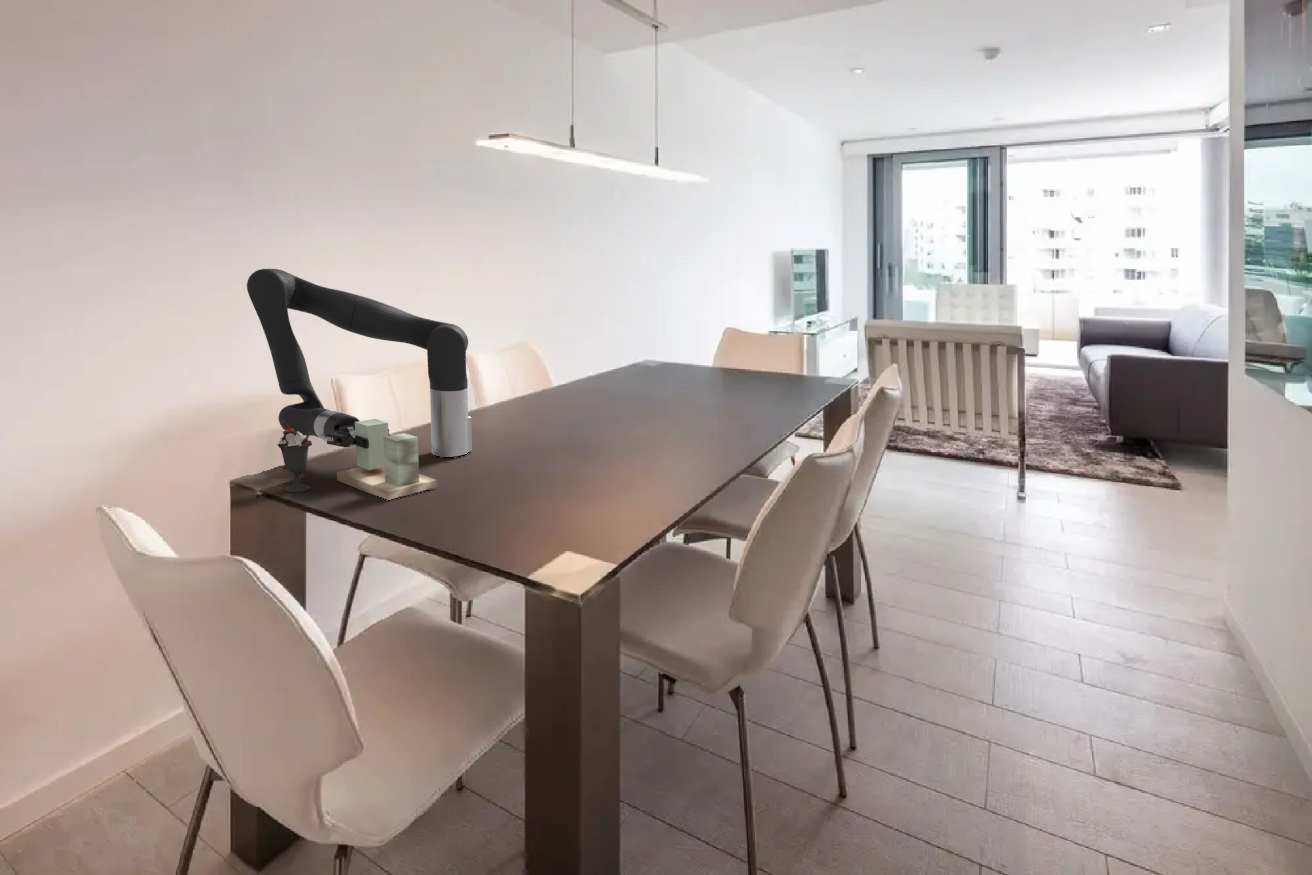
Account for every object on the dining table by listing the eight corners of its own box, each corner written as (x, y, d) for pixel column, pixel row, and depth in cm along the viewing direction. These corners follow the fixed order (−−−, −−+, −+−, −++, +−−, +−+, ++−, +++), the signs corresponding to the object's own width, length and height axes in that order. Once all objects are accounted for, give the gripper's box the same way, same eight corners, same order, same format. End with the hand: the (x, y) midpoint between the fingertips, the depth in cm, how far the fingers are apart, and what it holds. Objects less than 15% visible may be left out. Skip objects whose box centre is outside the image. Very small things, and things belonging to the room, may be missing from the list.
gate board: (385, 470, 173) (383, 420, 170) (437, 488, 161) (435, 435, 159) (337, 480, 164) (334, 428, 161) (388, 500, 152) (386, 444, 149)
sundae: (274, 488, 156) (268, 420, 153) (305, 482, 161) (300, 416, 158) (289, 495, 152) (283, 425, 149) (320, 489, 157) (316, 421, 154)
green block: (377, 461, 168) (375, 418, 166) (389, 465, 165) (387, 422, 163) (356, 465, 164) (354, 422, 162) (369, 470, 161) (367, 425, 159)
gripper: (307, 416, 165) (347, 430, 155) (365, 408, 176) (407, 420, 166) (309, 449, 167) (349, 464, 157) (366, 439, 178) (408, 452, 168)
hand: (378, 441), depth 162 cm, fingers closed on green block, 5 cm apart
